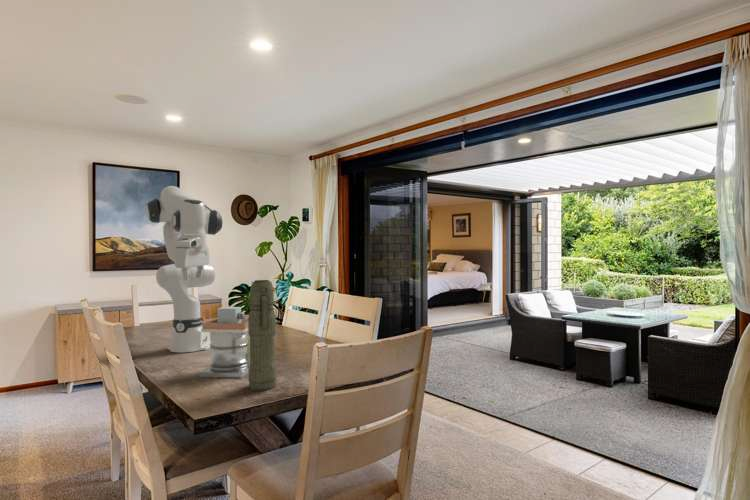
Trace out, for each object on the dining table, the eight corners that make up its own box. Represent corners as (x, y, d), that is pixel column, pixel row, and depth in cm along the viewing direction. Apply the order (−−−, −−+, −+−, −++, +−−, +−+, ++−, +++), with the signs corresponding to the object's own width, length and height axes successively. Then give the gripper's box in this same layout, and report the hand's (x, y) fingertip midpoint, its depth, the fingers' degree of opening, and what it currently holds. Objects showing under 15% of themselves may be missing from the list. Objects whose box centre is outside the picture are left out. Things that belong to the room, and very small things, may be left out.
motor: (219, 365, 175) (218, 317, 175) (258, 365, 173) (258, 318, 173) (198, 376, 159) (198, 324, 159) (241, 377, 157) (241, 325, 157)
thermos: (254, 393, 140) (253, 282, 140) (244, 384, 150) (243, 280, 150) (281, 389, 144) (280, 281, 144) (270, 380, 154) (269, 279, 154)
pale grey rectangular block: (223, 325, 169) (223, 306, 169) (246, 325, 168) (246, 307, 168) (217, 327, 164) (217, 308, 164) (240, 327, 163) (240, 308, 163)
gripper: (198, 241, 180) (198, 275, 180) (170, 242, 160) (170, 280, 160) (213, 242, 180) (213, 276, 180) (187, 242, 159) (187, 281, 160)
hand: (192, 278), depth 170 cm, fingers open, 8 cm apart
